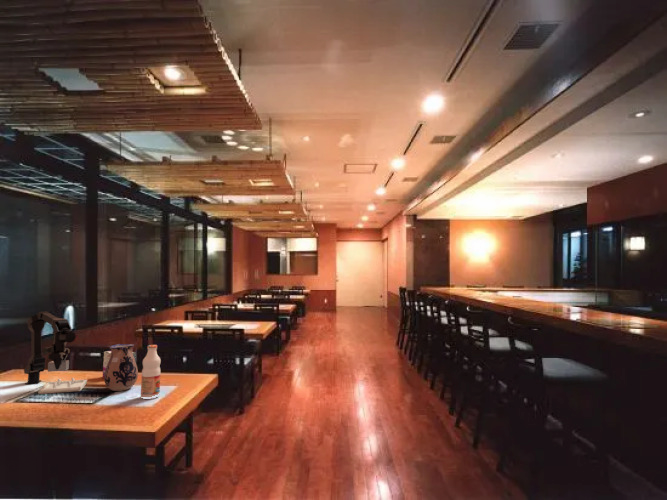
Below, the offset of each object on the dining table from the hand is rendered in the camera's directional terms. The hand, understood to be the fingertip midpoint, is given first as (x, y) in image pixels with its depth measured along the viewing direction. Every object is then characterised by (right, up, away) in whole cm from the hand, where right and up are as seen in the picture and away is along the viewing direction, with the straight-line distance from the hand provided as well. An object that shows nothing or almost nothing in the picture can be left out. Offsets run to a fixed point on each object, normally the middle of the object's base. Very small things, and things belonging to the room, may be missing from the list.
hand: (58, 368), depth 231 cm
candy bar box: (+17, -14, +25) cm, 33 cm away
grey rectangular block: (0, -1, 0) cm, 1 cm away
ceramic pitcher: (+35, -12, +2) cm, 37 cm away
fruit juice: (+60, -12, -13) cm, 62 cm away
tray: (+3, -12, 0) cm, 12 cm away
